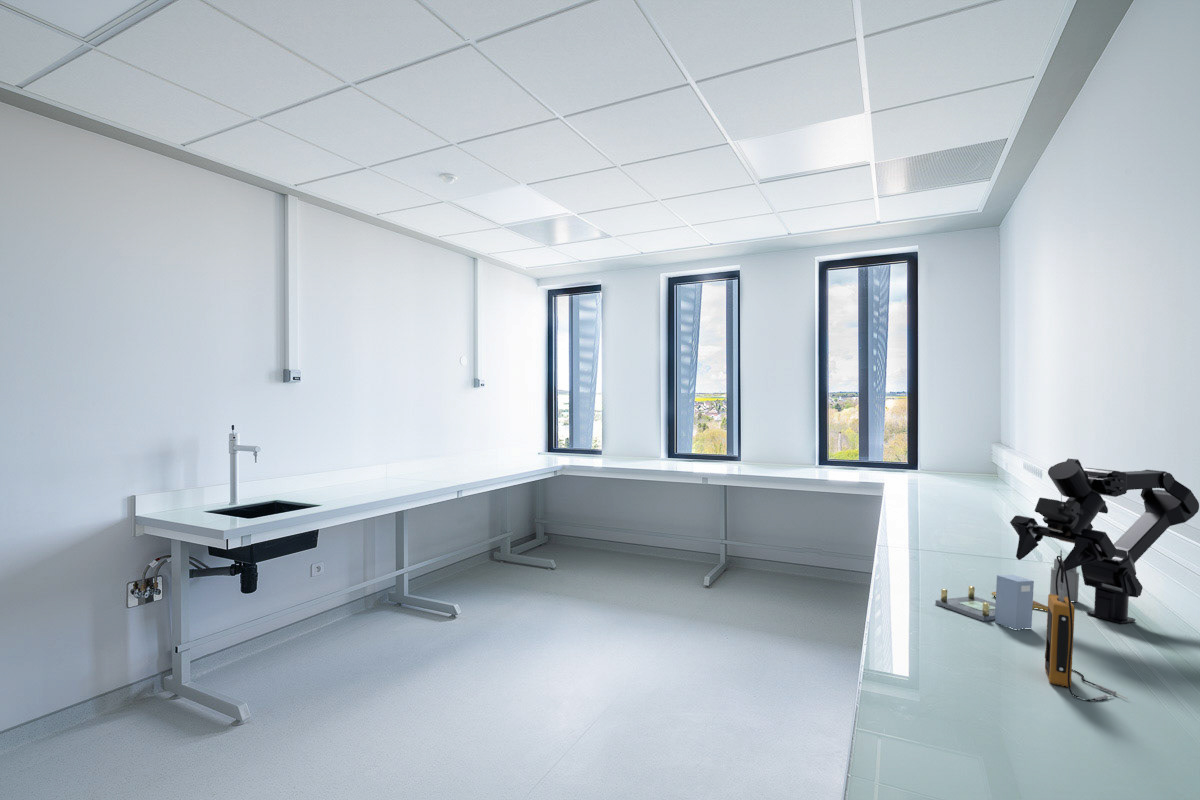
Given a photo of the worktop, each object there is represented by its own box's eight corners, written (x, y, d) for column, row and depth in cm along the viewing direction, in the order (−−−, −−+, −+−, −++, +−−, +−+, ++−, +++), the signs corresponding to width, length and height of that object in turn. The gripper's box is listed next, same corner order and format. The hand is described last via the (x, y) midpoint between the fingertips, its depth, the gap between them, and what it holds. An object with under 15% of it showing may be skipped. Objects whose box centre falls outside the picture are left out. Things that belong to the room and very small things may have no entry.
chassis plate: (972, 600, 139) (973, 585, 139) (1021, 616, 129) (1022, 600, 129) (935, 604, 134) (936, 589, 134) (983, 621, 124) (984, 605, 124)
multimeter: (1137, 714, 86) (1143, 578, 87) (1052, 693, 92) (1058, 565, 92) (1115, 678, 99) (1121, 559, 99) (1041, 662, 104) (1047, 549, 104)
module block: (1010, 621, 125) (1012, 574, 126) (1031, 629, 121) (1034, 580, 121) (994, 622, 124) (996, 575, 124) (1015, 630, 120) (1018, 581, 120)
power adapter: (1077, 603, 142) (1080, 554, 142) (1049, 598, 145) (1051, 549, 146) (1077, 600, 144) (1080, 552, 145) (1050, 595, 148) (1052, 547, 148)
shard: (1053, 615, 133) (1054, 607, 133) (1022, 614, 132) (1023, 606, 133) (1015, 599, 144) (1016, 592, 144) (986, 598, 143) (987, 591, 143)
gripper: (1018, 480, 136) (979, 528, 132) (1109, 492, 118) (1068, 548, 114) (1040, 514, 138) (1003, 562, 134) (1133, 531, 120) (1094, 587, 117)
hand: (1039, 564), depth 125 cm, fingers open, 9 cm apart
